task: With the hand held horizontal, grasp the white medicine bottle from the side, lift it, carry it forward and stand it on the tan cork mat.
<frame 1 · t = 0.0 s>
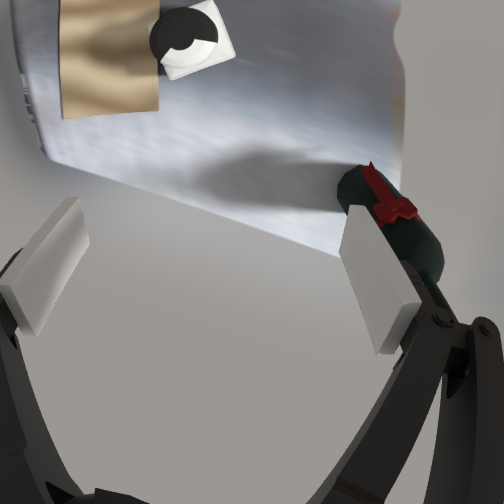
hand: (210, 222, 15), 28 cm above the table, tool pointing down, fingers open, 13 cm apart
wine bottle: (360, 183, 44), on the table
cork mat: (106, 49, 32), on the table
medicine bottle: (199, 41, 32), on the table
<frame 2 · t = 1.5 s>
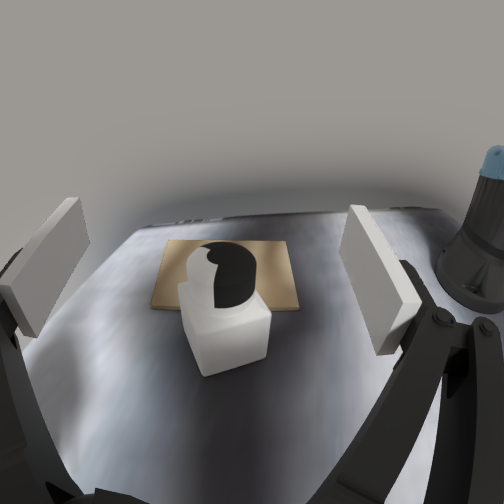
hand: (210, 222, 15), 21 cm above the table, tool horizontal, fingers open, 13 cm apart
cork mat: (225, 273, 44), on the table
medicine bottle: (223, 344, 34), on the table
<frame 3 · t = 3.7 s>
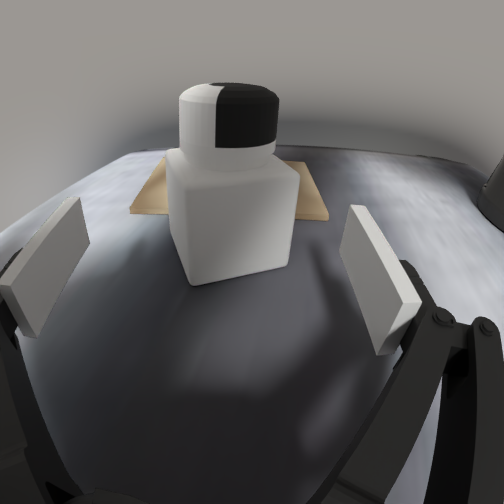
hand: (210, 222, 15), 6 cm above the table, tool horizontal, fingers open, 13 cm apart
cork mat: (231, 184, 34), on the table
medicine bottle: (225, 251, 25), on the table
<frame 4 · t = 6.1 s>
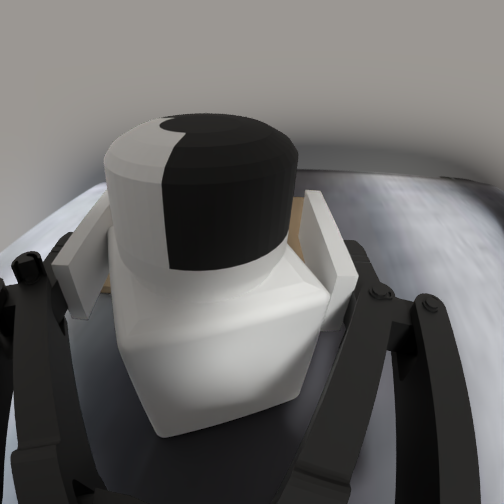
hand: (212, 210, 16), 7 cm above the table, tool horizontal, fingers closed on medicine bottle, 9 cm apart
cork mat: (220, 238, 26), on the table
medicine bottle: (208, 367, 16), on the table, touching gripper
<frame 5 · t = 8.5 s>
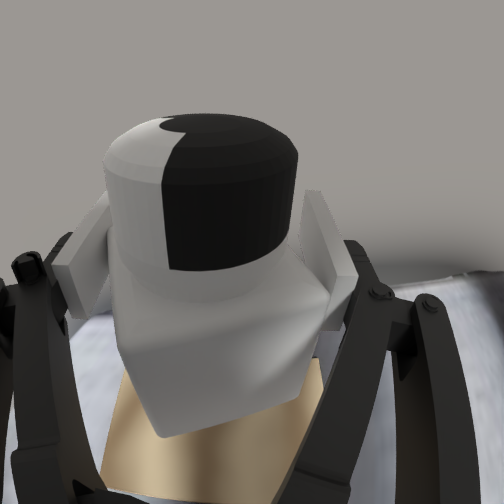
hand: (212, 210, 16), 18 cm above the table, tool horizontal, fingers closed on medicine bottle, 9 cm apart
cork mat: (219, 426, 24), on the table
medicine bottle: (208, 367, 16), point 11 cm above the table, touching gripper
when the fingers open (9 cm above the table, at t = 10.9 s): medicine bottle drops 1 cm, resting on cork mat.
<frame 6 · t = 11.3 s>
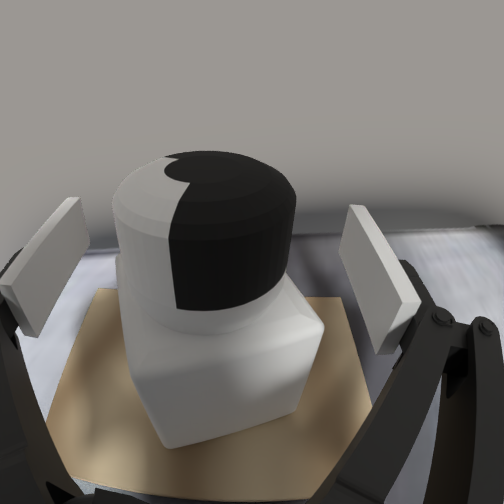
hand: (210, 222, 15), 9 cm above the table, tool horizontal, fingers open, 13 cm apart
cork mat: (210, 384, 17), on the table
medicine bottle: (211, 382, 17), resting on cork mat
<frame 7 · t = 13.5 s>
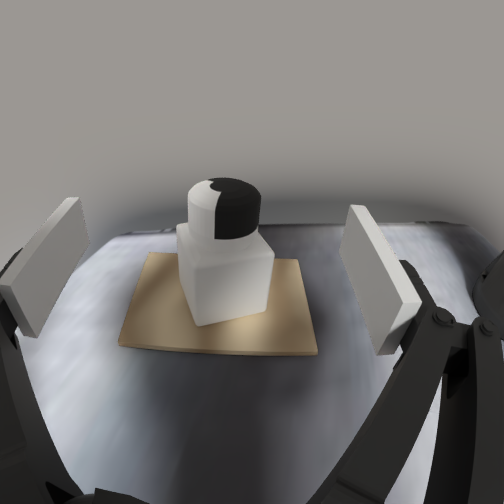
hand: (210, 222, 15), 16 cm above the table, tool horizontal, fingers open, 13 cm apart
cork mat: (219, 300, 33), on the table
medicine bottle: (220, 297, 33), resting on cork mat
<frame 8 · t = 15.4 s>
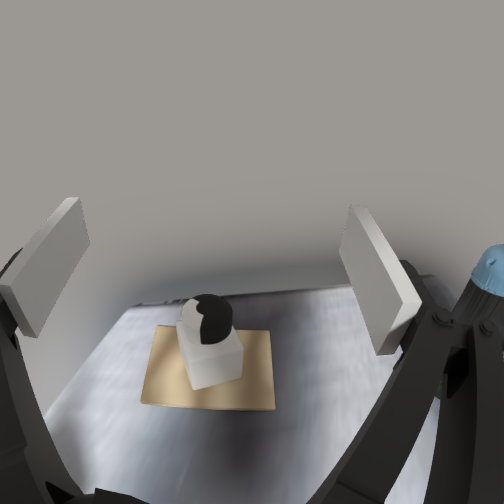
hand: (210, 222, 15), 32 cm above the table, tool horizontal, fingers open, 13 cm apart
cork mat: (209, 367, 45), on the table
medicine bottle: (210, 366, 44), resting on cork mat
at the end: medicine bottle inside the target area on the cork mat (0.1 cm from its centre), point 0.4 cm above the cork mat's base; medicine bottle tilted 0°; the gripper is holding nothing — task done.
